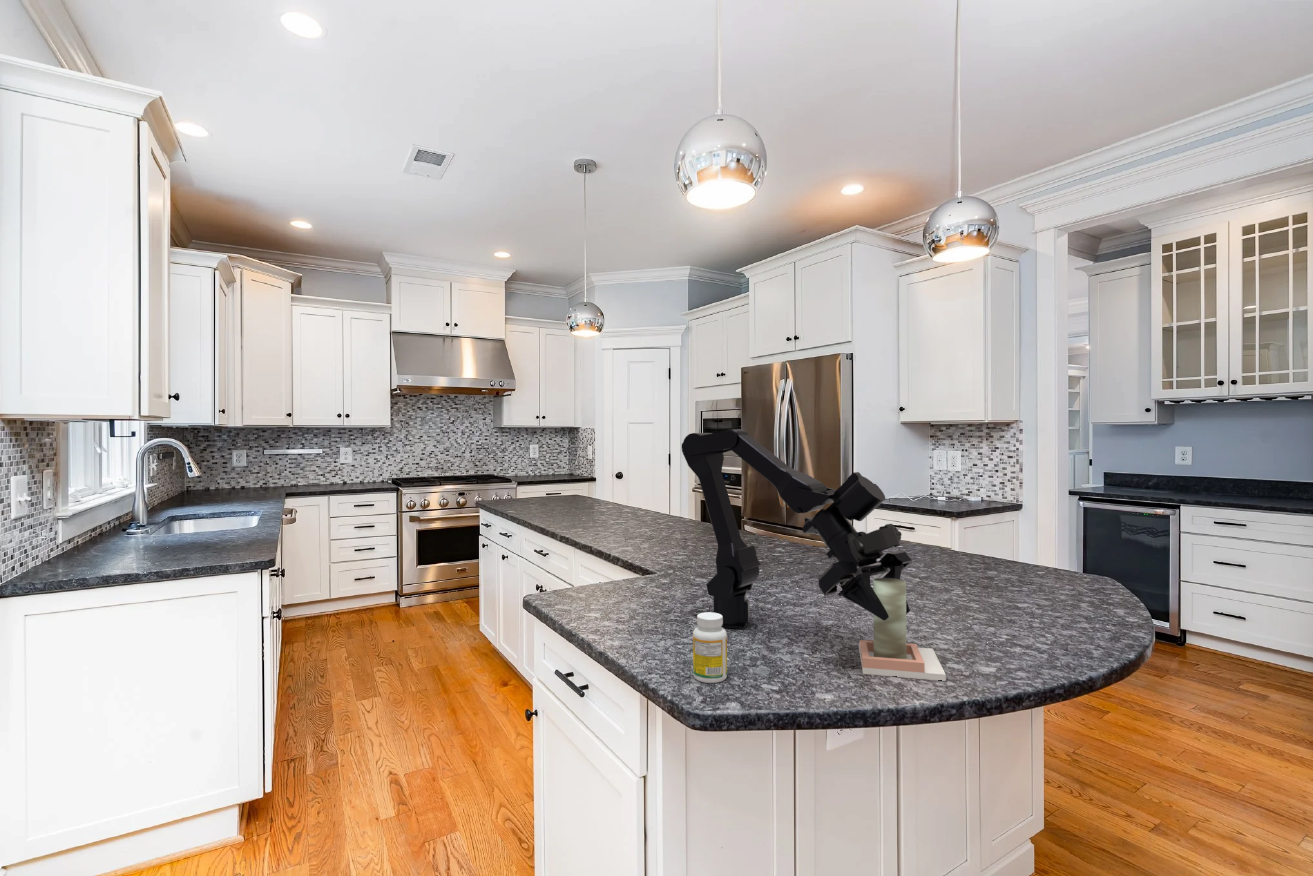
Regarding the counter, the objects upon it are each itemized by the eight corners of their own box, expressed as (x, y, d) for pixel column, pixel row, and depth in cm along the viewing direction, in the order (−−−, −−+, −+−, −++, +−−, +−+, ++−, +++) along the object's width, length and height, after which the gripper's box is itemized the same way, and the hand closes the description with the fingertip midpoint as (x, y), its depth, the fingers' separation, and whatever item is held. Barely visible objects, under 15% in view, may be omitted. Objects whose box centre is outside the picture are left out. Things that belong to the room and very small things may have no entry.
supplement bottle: (714, 686, 93) (713, 623, 93) (685, 678, 96) (685, 616, 96) (734, 676, 97) (733, 614, 97) (706, 668, 101) (705, 609, 101)
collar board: (862, 673, 97) (862, 658, 97) (858, 648, 109) (858, 634, 109) (945, 681, 94) (945, 664, 94) (932, 654, 106) (932, 639, 106)
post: (874, 662, 99) (874, 583, 99) (872, 651, 104) (872, 577, 104) (908, 665, 98) (908, 585, 98) (904, 654, 102) (904, 578, 102)
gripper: (832, 513, 98) (893, 597, 89) (901, 505, 109) (963, 579, 100) (794, 554, 105) (848, 637, 96) (864, 543, 116) (918, 616, 107)
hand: (897, 615), depth 99 cm, fingers open, 5 cm apart
